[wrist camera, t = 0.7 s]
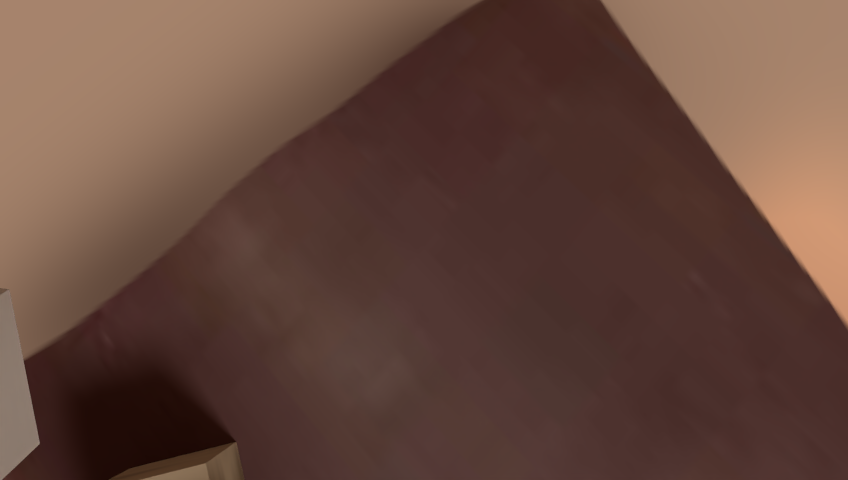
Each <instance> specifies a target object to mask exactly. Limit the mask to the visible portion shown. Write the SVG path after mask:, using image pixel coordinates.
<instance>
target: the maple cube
mask: <svg viewBox="0 0 848 480" xmlns="http://www.w3.org/2000/svg"><path fill="white" fill-rule="evenodd" d="M109 480H244V476H243V471H242V467H241V462H240V457H239V453H238V448H237V443H236V442H233V443H229V444H225V445H221V446H217V447H213V448H209V449H205V450H201V451H197V452H193V453H189V454H185V455H181V456H177V457H173V458H169V459H165V460H161V461H157V462H153V463H149V464H145V465H141V466H137V467H133V468H130V469H128V470H126V471H124V472H122V473H120V474H119V475H117V476H115V477H113V478H111V479H109Z"/></svg>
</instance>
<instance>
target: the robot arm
mask: <svg viewBox="0 0 848 480" xmlns="http://www.w3.org/2000/svg"><path fill="white" fill-rule="evenodd" d="M39 444H40V442H39V437H38V432H37V427H36V422H35V417H34V412H33V407H32V402H31V397H30V392H29V387H28V382H27V377H26V371H25V366H24V361H23V356H22V352H21V346H20V341H19V336H18V331H17V326H16V321H15V316H14V311H13V306H12V300H11V295H10V290H9V289H1V288H0V480H2V479H3V478H4V477H5V476H6V475H7V474H8V473H9V472H10V471H11V470H13V469H14V468H15V467H16V466H17V465H18V464H19V463H20V462H21V461H22V460H23V459H24V458H25V457H26V456H27V455H28V454H29V453H30V452H31V451H33V450H34V449H35V448H36V447H37V446H38V445H39Z"/></svg>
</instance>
